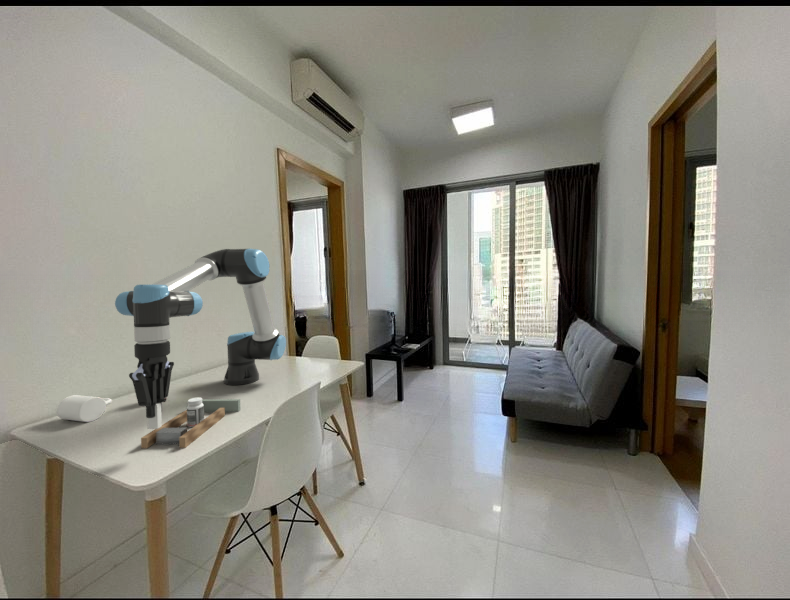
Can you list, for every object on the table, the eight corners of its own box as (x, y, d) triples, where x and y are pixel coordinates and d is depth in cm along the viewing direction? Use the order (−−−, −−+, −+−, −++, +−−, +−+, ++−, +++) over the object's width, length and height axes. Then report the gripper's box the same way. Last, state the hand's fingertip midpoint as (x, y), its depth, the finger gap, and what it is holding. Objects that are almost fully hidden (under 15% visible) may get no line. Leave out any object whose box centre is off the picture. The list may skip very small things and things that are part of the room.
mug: (79, 426, 99) (78, 402, 99) (56, 423, 101) (55, 399, 101) (119, 411, 111) (118, 389, 110) (98, 409, 113) (97, 388, 112)
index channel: (189, 416, 106) (189, 407, 106) (224, 415, 107) (224, 407, 107) (141, 448, 85) (141, 438, 85) (185, 447, 86) (185, 437, 86)
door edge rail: (191, 410, 112) (190, 399, 111) (240, 409, 112) (240, 399, 112) (188, 411, 110) (188, 401, 110) (238, 411, 111) (238, 400, 110)
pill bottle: (201, 419, 104) (201, 395, 104) (206, 423, 101) (205, 399, 100) (185, 424, 100) (184, 399, 100) (189, 428, 97) (188, 403, 97)
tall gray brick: (163, 439, 90) (163, 427, 90) (187, 439, 91) (187, 427, 91) (156, 444, 87) (155, 432, 87) (180, 444, 88) (180, 432, 88)
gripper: (156, 337, 88) (158, 417, 89) (116, 346, 75) (119, 439, 76) (183, 337, 88) (184, 417, 89) (147, 345, 75) (150, 439, 76)
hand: (154, 427), depth 82 cm, fingers closed
